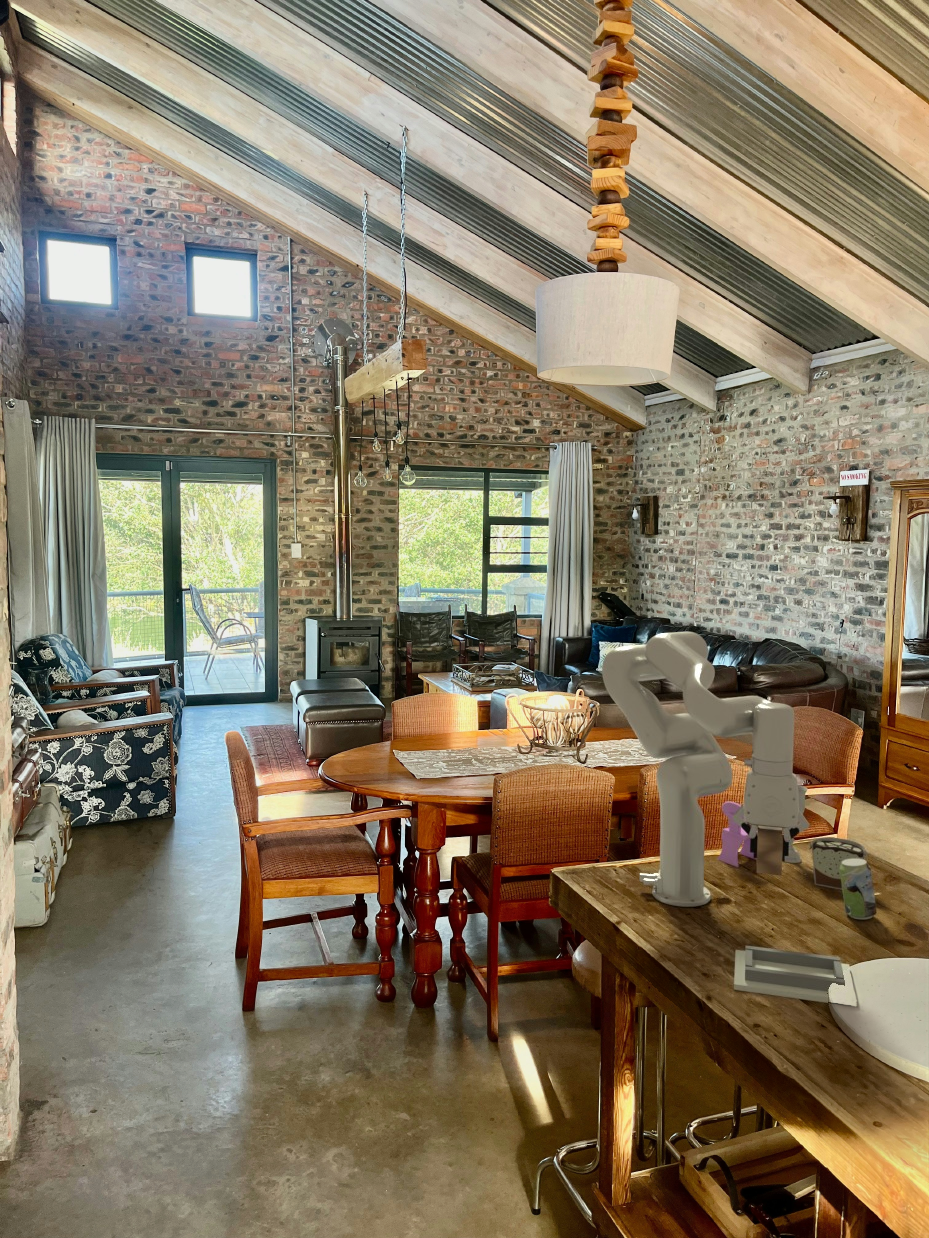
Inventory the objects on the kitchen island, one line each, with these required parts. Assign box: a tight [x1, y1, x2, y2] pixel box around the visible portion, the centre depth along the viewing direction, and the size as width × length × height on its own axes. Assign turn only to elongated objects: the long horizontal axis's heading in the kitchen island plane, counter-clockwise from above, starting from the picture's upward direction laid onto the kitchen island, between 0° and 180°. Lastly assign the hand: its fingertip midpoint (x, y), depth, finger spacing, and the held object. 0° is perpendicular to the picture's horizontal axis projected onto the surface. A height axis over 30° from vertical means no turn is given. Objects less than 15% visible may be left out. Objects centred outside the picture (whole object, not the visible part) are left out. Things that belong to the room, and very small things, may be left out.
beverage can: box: [840, 858, 878, 920], centre depth 189 cm, size 6×7×12 cm
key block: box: [756, 826, 783, 876], centre depth 177 cm, size 4×11×7 cm, turn 162°
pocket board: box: [733, 945, 851, 1004], centre depth 162 cm, size 20×14×3 cm
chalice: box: [784, 784, 808, 864], centre depth 222 cm, size 7×7×18 cm
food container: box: [808, 837, 868, 890], centre depth 206 cm, size 12×6×10 cm, turn 58°
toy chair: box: [717, 801, 757, 868], centre depth 222 cm, size 8×9×15 cm
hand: (768, 856), depth 177 cm, fingers closed on key block, 4 cm apart
